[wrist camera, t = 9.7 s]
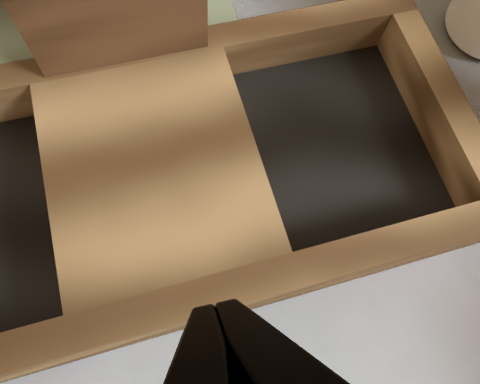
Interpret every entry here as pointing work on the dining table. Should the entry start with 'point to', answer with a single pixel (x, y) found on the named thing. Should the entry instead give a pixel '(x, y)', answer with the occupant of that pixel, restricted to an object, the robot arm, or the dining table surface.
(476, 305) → the dining table surface
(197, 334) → the robot arm
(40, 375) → the dining table surface
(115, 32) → the walnut block
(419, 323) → the dining table surface
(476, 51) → the drinking glass
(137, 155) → the tray
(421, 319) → the dining table surface
